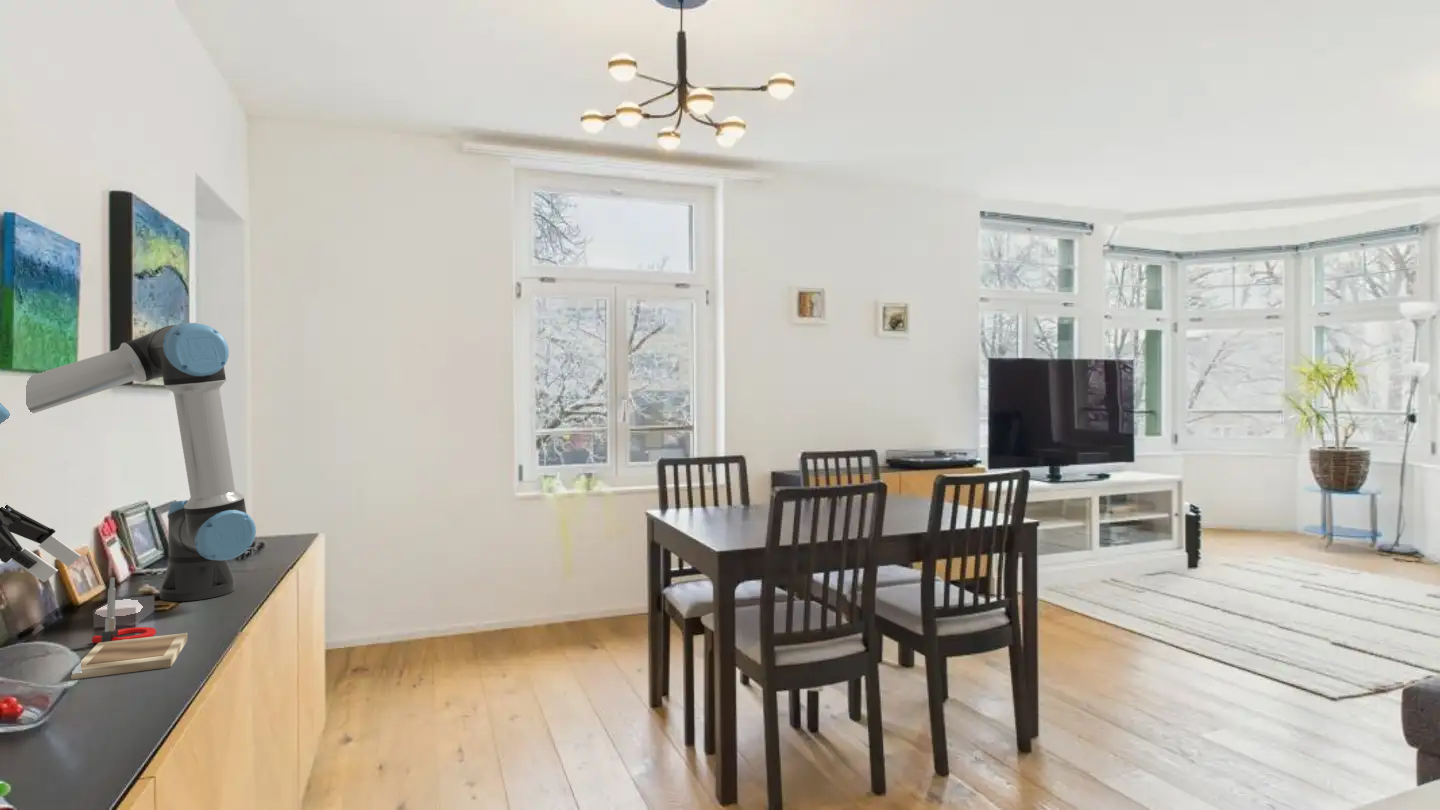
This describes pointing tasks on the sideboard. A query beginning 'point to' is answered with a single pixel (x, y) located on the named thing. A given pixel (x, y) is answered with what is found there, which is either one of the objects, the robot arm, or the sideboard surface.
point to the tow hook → (110, 623)
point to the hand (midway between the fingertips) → (63, 568)
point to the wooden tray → (131, 655)
